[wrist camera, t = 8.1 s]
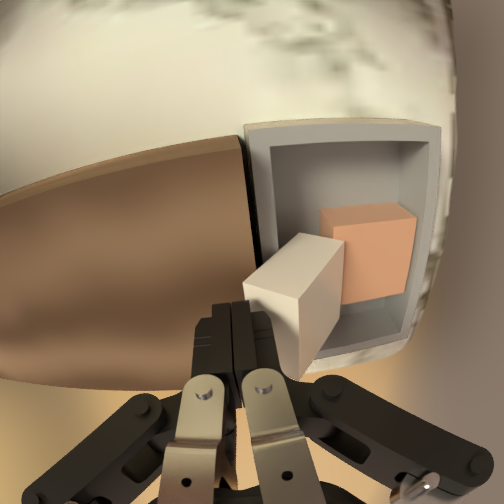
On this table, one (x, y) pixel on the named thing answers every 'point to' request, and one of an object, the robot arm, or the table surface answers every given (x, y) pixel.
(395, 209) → the terracotta tile
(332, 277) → the cream tile
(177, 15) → the table surface
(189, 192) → the walnut platform
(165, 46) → the table surface
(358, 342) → the box
